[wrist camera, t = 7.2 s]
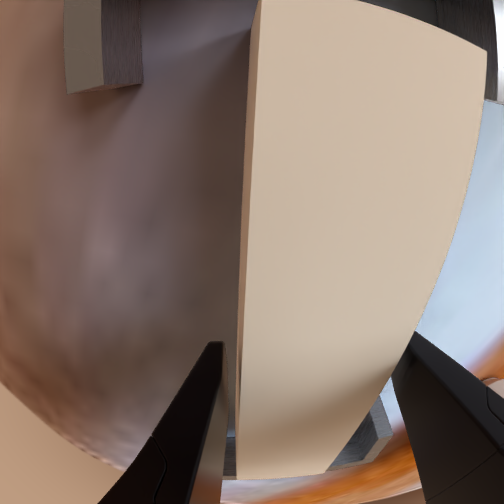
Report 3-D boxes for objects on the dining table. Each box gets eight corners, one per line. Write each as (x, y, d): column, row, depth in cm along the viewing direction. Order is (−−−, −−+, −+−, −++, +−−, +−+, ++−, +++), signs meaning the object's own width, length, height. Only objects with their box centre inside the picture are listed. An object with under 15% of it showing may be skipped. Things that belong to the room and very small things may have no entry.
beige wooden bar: (392, 54, 7) (486, 51, 3) (310, 407, 15) (323, 473, 11) (250, 31, 6) (263, -15, 3) (234, 410, 14) (236, 479, 11)
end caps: (453, -15, 5) (506, -26, 3) (362, 427, 16) (372, 461, 14) (112, -35, 5) (71, -66, 2) (203, 443, 16) (201, 479, 13)
